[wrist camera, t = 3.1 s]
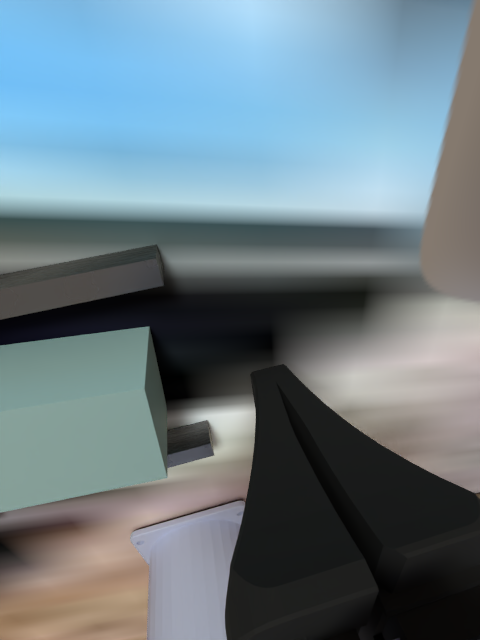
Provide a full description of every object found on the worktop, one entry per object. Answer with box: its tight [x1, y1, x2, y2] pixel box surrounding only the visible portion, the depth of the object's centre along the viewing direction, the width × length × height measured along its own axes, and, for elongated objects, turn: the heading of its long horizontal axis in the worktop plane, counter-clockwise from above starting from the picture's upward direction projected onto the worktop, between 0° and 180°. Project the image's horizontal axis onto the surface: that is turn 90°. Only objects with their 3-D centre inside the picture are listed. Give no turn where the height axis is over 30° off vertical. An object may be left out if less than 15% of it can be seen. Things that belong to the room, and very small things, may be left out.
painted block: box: [0, 327, 167, 513], centre depth 12 cm, size 5×7×4 cm
